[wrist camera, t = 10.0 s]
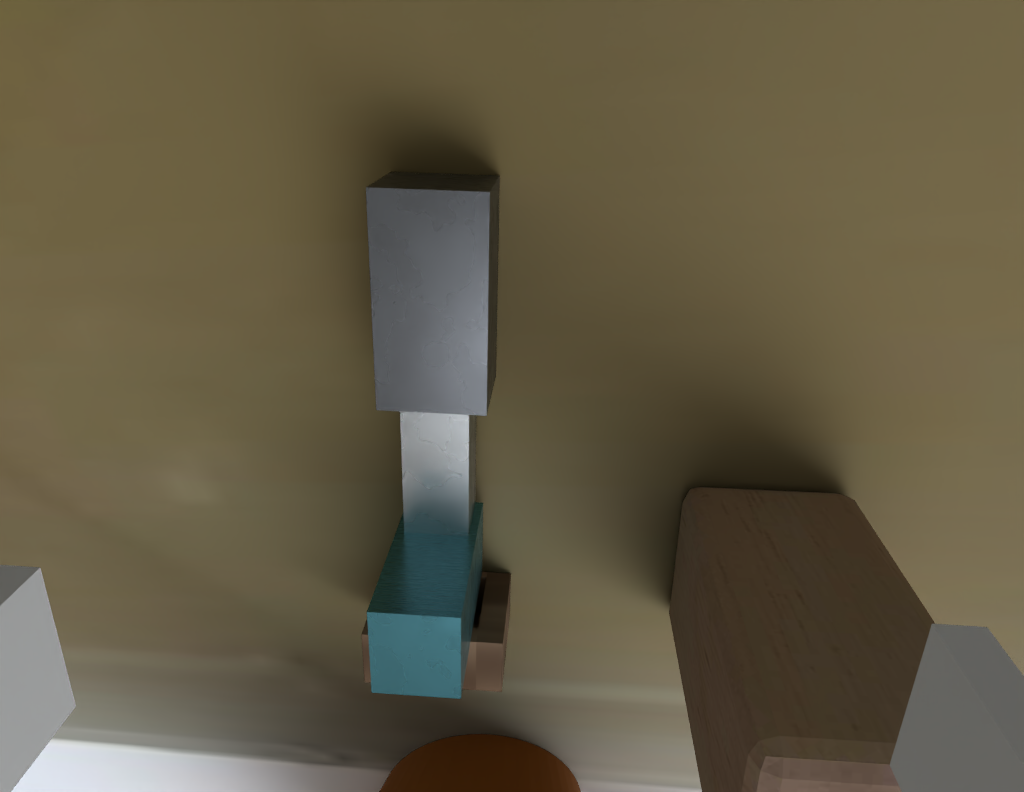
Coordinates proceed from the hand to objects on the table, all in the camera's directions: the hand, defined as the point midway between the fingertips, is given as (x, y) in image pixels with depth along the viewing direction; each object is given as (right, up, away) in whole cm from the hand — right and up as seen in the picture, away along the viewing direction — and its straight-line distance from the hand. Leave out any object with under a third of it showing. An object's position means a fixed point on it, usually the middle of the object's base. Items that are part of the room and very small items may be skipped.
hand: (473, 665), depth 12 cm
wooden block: (+16, -6, +36) cm, 40 cm away
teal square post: (-3, -1, +34) cm, 35 cm away
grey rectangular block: (-3, +10, +30) cm, 32 cm away
